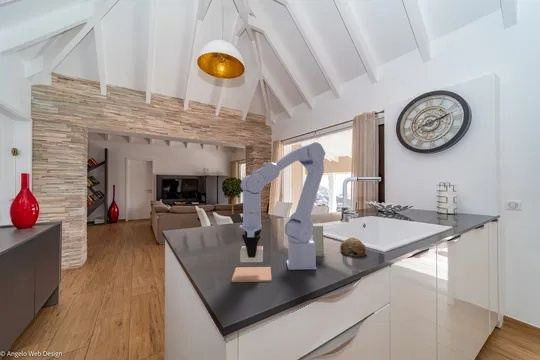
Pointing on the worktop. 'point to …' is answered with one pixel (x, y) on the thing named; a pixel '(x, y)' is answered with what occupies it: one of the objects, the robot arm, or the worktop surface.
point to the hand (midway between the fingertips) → (252, 254)
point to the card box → (245, 258)
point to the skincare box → (318, 239)
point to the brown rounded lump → (353, 247)
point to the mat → (252, 274)
